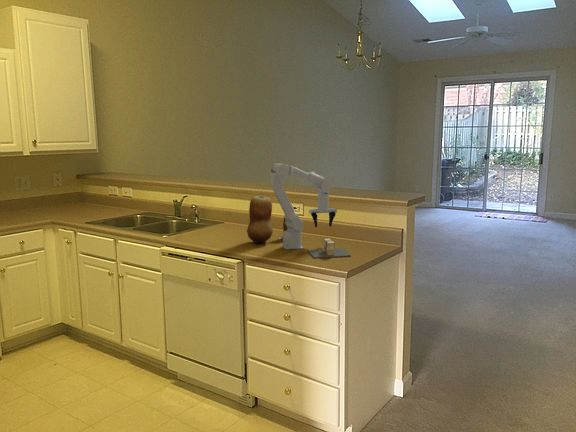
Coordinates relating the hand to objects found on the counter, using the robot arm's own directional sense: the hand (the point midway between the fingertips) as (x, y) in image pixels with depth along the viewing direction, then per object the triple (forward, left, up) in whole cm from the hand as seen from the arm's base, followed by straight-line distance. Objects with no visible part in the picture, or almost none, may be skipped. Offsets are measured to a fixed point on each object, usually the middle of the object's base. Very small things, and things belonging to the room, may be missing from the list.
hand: (323, 226), depth 257 cm
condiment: (-16, +18, -10) cm, 26 cm away
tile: (-2, -21, -9) cm, 22 cm away
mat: (-2, -20, -9) cm, 22 cm away
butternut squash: (-32, +10, -10) cm, 35 cm away
